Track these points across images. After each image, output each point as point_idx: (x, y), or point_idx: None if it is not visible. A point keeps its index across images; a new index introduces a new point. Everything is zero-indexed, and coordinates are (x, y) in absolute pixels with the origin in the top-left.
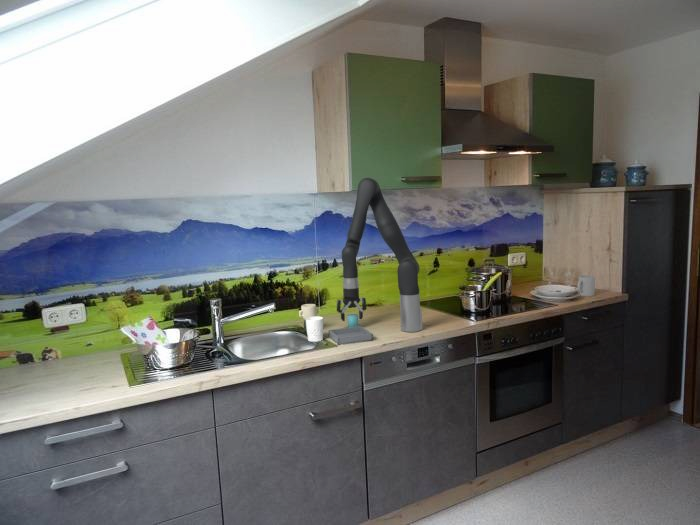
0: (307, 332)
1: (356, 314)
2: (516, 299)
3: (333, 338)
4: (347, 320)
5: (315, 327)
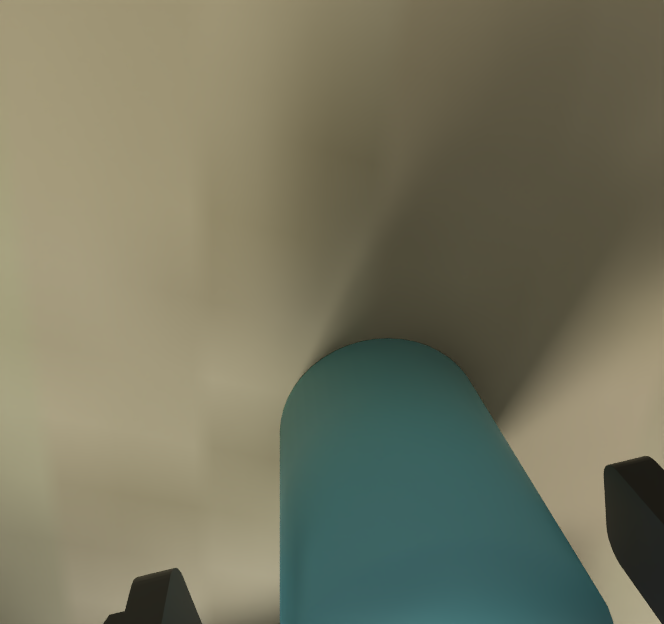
0: None
1: (588, 598)
2: None
3: None
4: (280, 570)
5: None
